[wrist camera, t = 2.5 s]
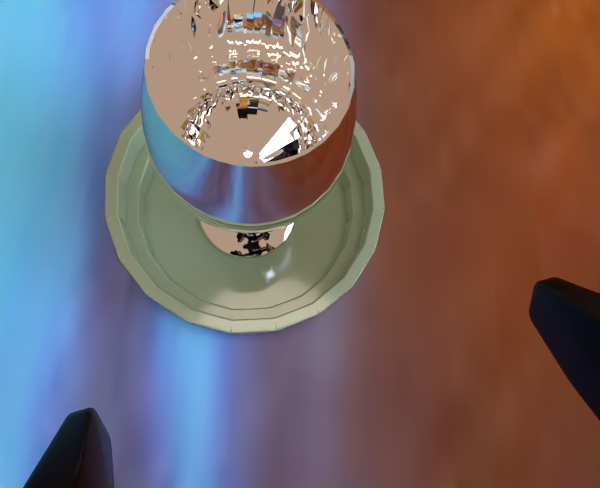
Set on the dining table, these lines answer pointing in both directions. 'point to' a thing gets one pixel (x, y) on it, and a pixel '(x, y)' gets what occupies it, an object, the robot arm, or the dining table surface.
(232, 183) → the wineglass
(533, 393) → the dining table surface
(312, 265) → the dish
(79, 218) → the dining table surface
